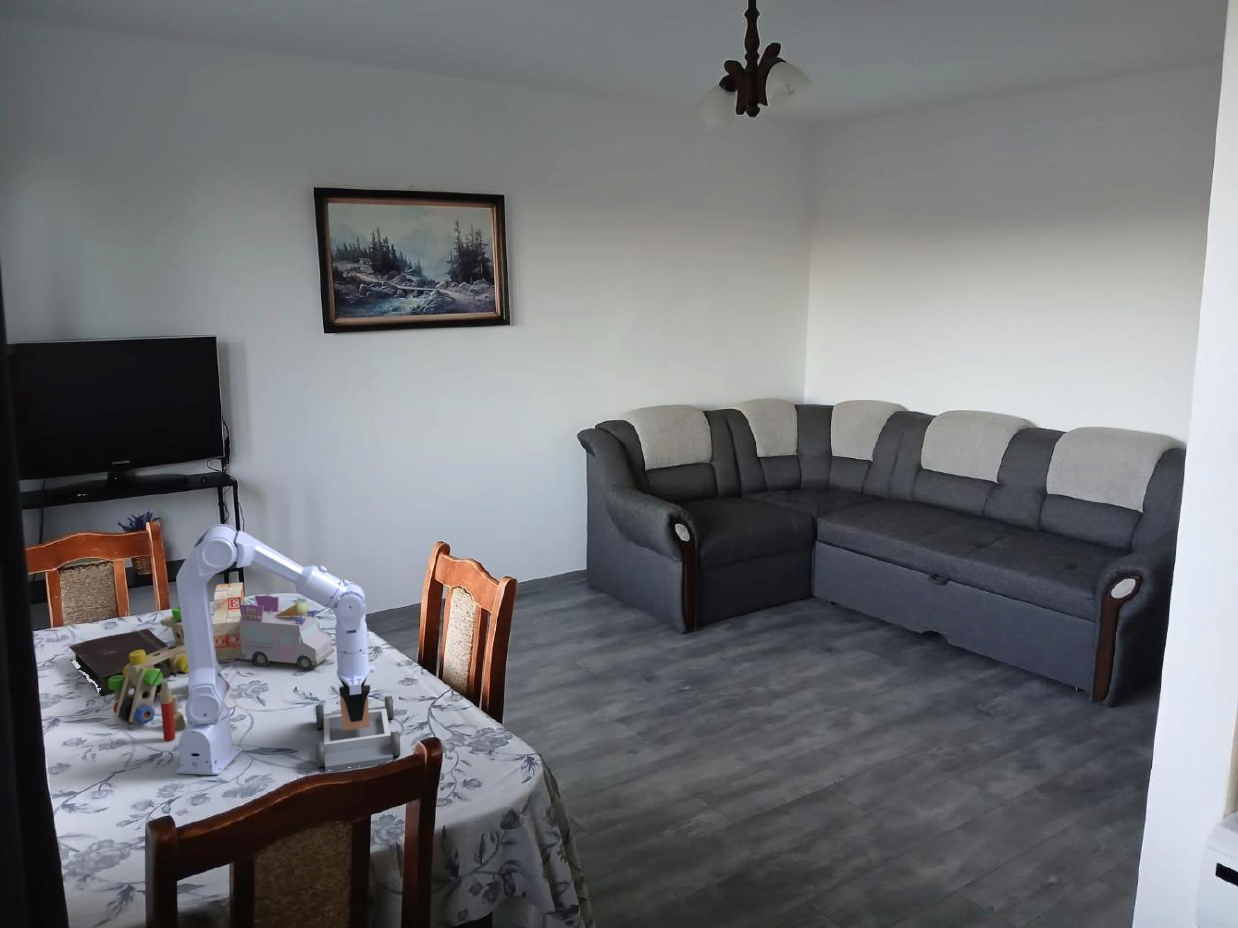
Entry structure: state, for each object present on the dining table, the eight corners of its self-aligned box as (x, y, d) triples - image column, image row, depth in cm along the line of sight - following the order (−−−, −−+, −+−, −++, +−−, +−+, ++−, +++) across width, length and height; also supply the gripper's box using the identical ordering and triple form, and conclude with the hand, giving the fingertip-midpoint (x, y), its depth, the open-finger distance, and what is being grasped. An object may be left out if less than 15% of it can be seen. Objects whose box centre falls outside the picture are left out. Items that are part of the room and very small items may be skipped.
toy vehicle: (316, 674, 212) (312, 611, 209) (238, 667, 216) (233, 605, 213) (336, 658, 221) (332, 597, 218) (261, 651, 225) (256, 592, 222)
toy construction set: (240, 727, 187) (232, 629, 183) (113, 754, 177) (102, 651, 173) (223, 678, 210) (216, 590, 206) (110, 699, 200) (100, 607, 196)
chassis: (401, 761, 174) (400, 739, 173) (317, 773, 170) (315, 751, 169) (391, 710, 194) (391, 690, 194) (317, 720, 190) (315, 699, 189)
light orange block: (369, 726, 180) (367, 697, 178) (342, 730, 178) (340, 701, 177) (368, 715, 184) (366, 686, 183) (341, 719, 183) (339, 690, 182)
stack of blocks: (243, 658, 221) (239, 608, 219) (214, 661, 219) (210, 611, 217) (246, 627, 241) (243, 581, 239) (220, 629, 239) (216, 583, 237)
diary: (152, 645, 231) (150, 626, 230) (188, 676, 213) (186, 655, 212) (66, 665, 218) (64, 644, 217) (97, 699, 200) (95, 677, 199)
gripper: (376, 659, 173) (379, 727, 175) (371, 631, 186) (375, 695, 189) (336, 664, 171) (340, 733, 173) (334, 635, 184) (338, 700, 187)
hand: (355, 714), depth 181 cm, fingers closed on light orange block, 5 cm apart
